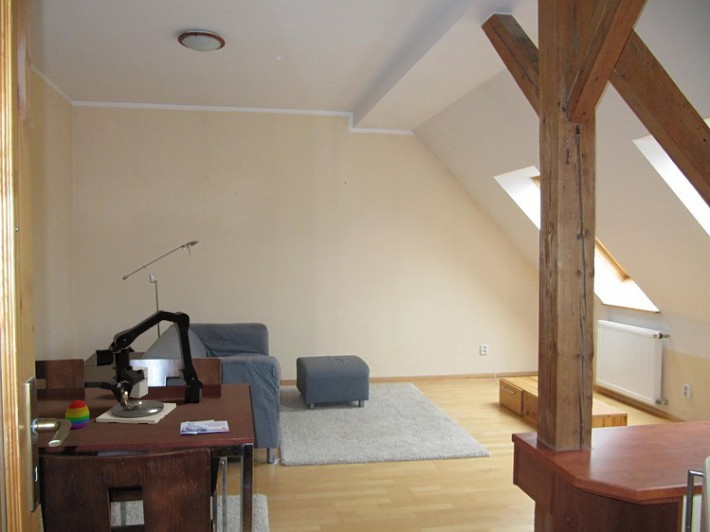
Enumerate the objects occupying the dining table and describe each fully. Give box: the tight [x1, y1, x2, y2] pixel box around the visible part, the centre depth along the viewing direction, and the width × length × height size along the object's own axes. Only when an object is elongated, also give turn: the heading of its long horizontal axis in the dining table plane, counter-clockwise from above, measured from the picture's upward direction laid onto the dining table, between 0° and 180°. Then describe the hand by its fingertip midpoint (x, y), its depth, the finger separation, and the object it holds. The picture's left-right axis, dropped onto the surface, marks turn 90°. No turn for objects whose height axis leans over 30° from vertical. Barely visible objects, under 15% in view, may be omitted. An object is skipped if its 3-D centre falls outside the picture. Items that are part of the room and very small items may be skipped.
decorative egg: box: [64, 399, 90, 429], centre depth 219 cm, size 8×8×10 cm
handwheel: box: [110, 389, 164, 417], centre depth 236 cm, size 20×20×6 cm
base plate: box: [95, 402, 177, 425], centre depth 236 cm, size 23×23×2 cm
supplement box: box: [129, 365, 149, 399], centre depth 263 cm, size 7×7×13 cm
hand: (123, 401), depth 240 cm, fingers open, 4 cm apart
